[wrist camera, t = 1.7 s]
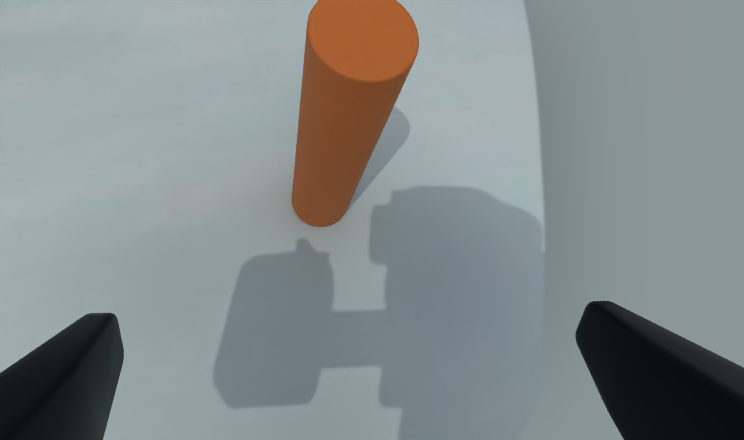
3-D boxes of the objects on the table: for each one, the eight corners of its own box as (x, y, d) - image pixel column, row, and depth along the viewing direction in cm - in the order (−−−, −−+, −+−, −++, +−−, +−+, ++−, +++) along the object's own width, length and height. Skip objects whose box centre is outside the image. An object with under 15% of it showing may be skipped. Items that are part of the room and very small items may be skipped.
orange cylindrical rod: (356, 214, 23) (439, 61, 11) (306, 235, 22) (338, 95, 10) (333, 167, 23) (388, -26, 12) (282, 186, 23) (288, -1, 11)
